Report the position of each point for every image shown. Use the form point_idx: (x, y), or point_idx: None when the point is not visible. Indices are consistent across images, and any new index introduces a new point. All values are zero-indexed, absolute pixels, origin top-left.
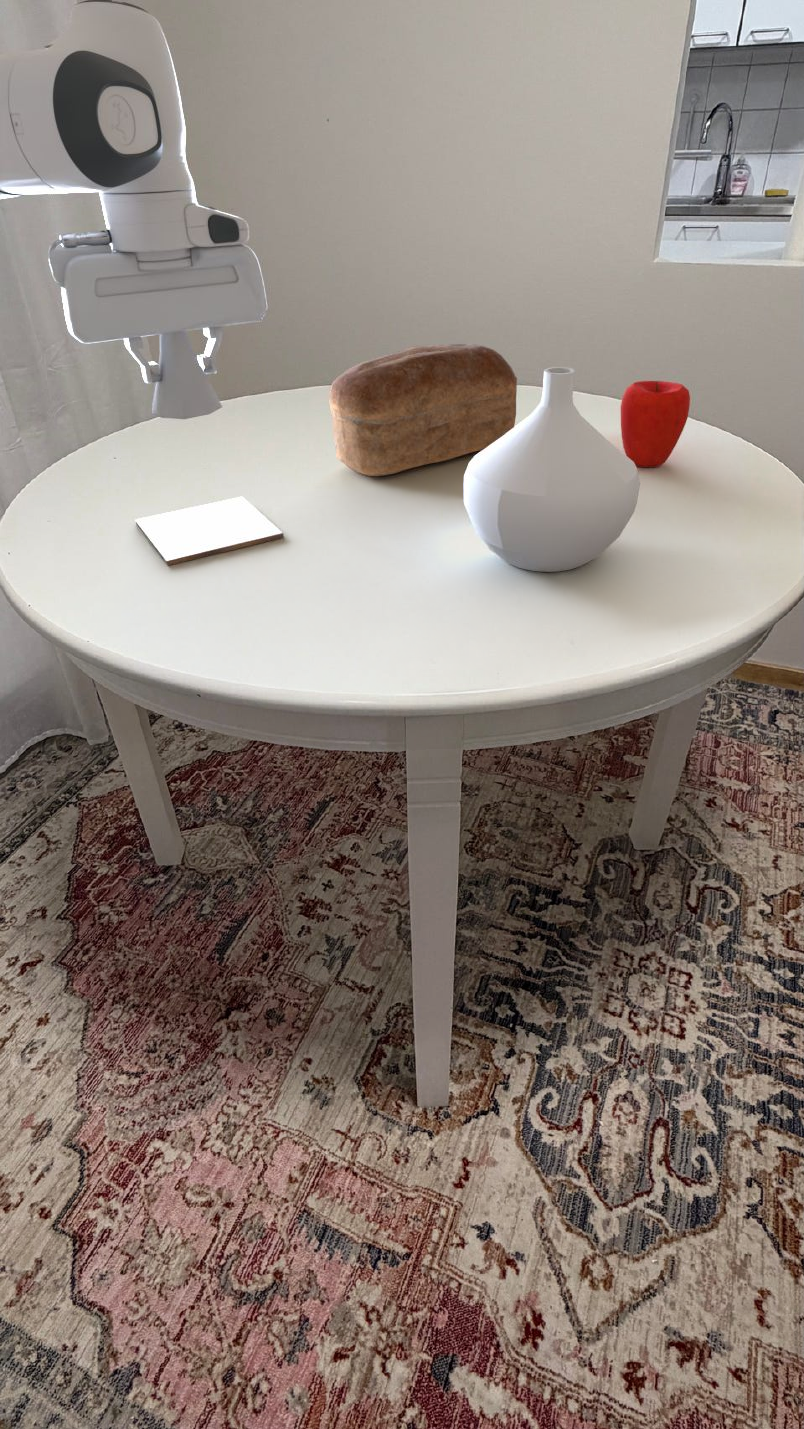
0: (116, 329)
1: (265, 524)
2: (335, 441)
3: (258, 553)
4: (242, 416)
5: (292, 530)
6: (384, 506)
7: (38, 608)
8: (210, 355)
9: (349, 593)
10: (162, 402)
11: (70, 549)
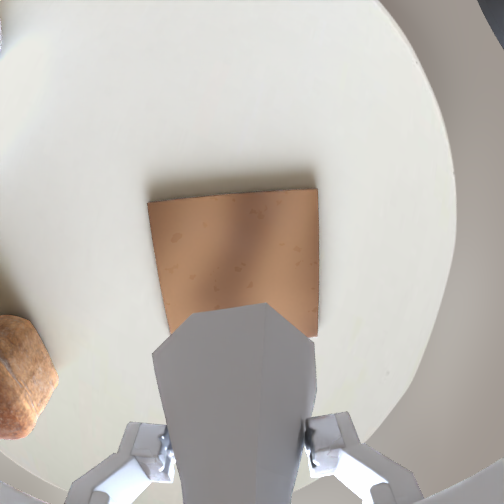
0: (481, 499)
1: (162, 243)
2: (49, 387)
3: (193, 167)
4: (152, 498)
5: (133, 221)
6: (28, 241)
7: (449, 161)
8: (129, 457)
9: (136, 22)
10: (308, 369)
11: (396, 295)
